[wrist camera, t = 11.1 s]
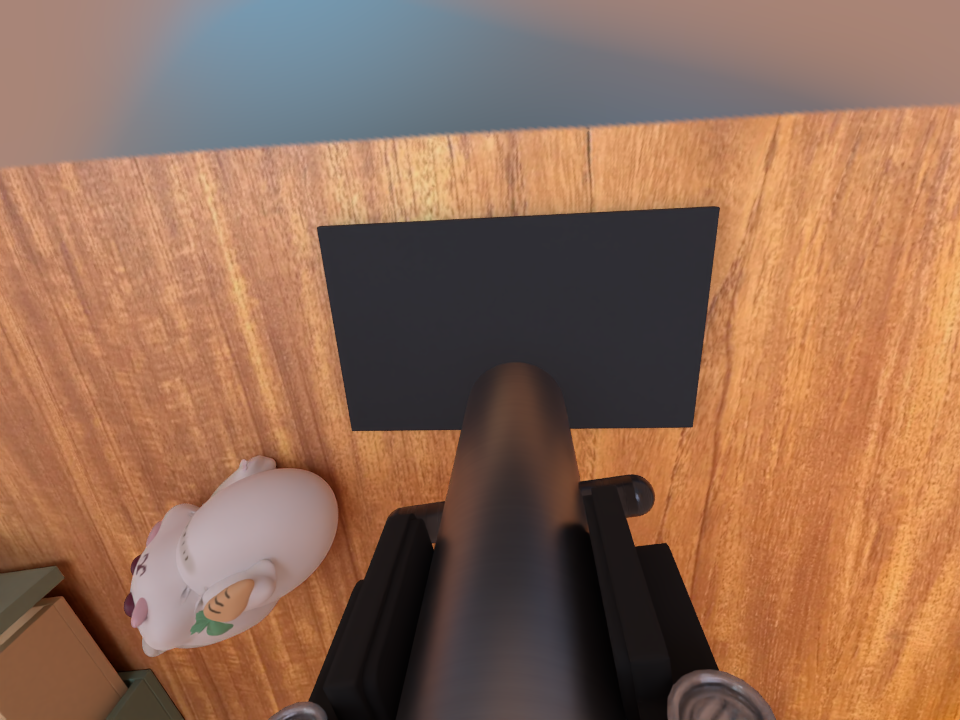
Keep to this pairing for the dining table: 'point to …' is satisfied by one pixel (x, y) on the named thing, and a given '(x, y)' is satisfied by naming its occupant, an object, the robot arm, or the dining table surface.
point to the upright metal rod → (515, 568)
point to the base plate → (522, 313)
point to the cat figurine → (230, 556)
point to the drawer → (49, 655)
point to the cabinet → (143, 699)
